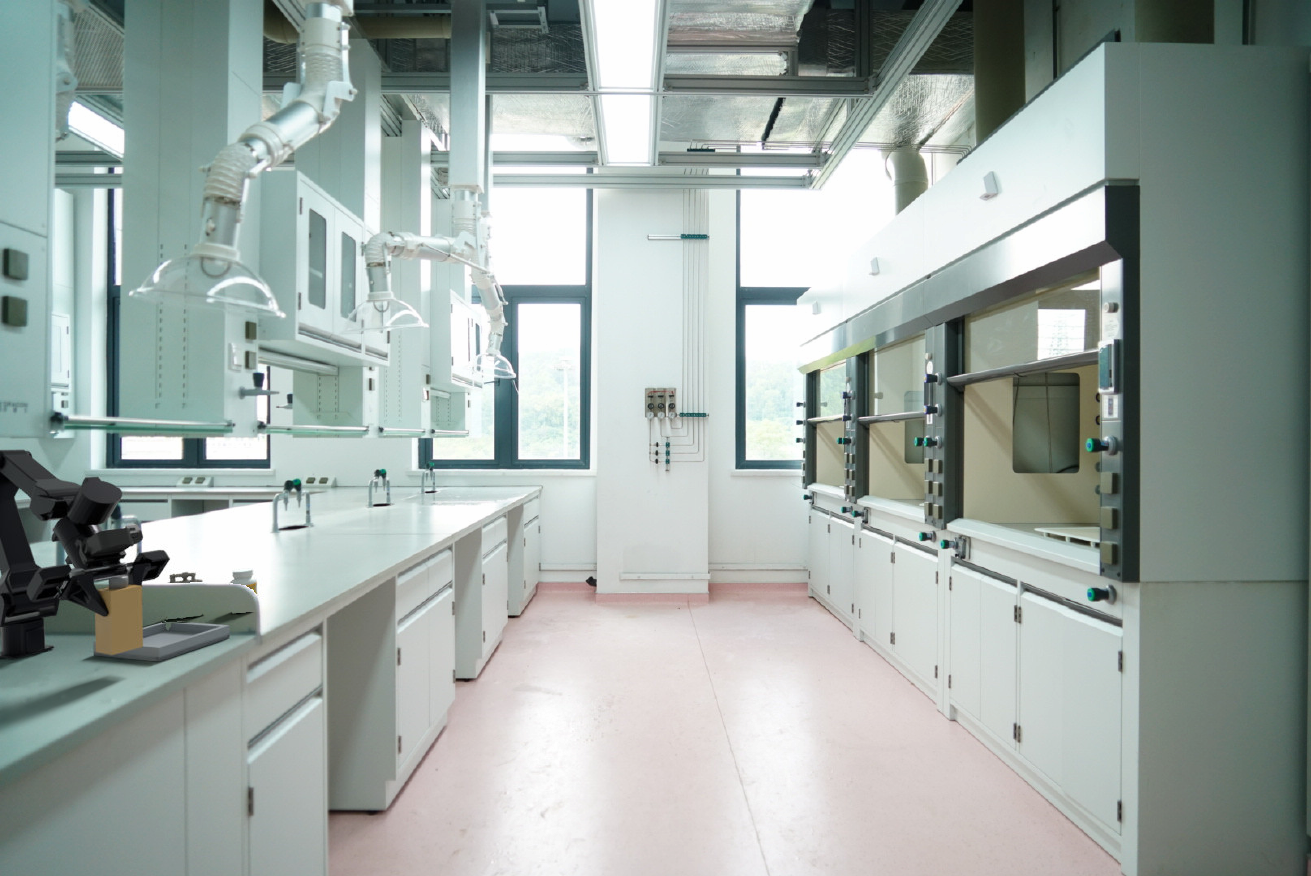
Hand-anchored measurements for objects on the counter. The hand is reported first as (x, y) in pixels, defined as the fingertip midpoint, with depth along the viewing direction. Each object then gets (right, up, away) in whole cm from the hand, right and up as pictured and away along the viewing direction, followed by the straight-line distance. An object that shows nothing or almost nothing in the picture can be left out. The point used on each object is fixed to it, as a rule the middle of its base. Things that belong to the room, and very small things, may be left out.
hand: (123, 611), depth 109 cm
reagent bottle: (-1, -7, +1) cm, 7 cm away
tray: (-5, -11, +15) cm, 19 cm away
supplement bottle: (-5, -11, +40) cm, 42 cm away
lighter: (-16, -11, +35) cm, 40 cm away
